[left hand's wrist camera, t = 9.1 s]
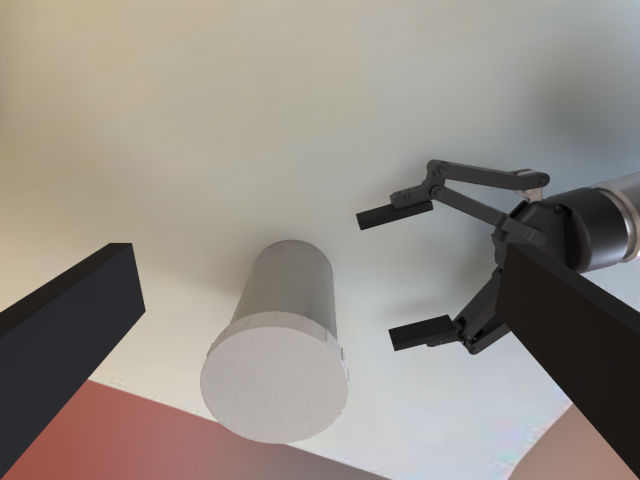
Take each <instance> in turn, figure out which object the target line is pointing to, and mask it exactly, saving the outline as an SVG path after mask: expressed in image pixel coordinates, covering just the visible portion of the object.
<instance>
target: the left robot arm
mask: <svg viewBox="0 0 640 480" xmlns="http://www.w3.org/2000/svg"><path fill="white" fill-rule="evenodd" d="M145 312H146V310H145V305H144V300H143V296H142V291H141V286H140V281H139V276H138V271H137V266H136V261H135V256H134V251H133V246H132V243H109V244H108V245H106V246H104V247H103V248H101V249H100V250H98V251H96V252H95V253H93V254H92V255H90V256H89V257H87V258H85V259H84V260H82V261H81V262H79V263H78V264H76V265H74V266H73V267H71V268H70V269H68V270H67V271H65V272H63V273H62V274H60V275H59V276H57V277H56V278H54V279H52V280H51V281H49V282H48V283H46V284H45V285H43V286H41V287H40V288H38V289H37V290H35V291H34V292H32V293H30V294H29V295H27V296H26V297H24V298H23V299H21V300H19V301H18V302H16V303H15V304H13V305H12V306H10V307H8V308H7V309H5V310H4V311H2V312H0V479H1V478H2V477H3V476H4V475H5V474H6V473H7V471H8V470H9V469H10V468H11V467H12V466H13V464H14V463H15V462H16V461H17V460H18V459H19V458H20V456H21V455H22V454H23V453H24V452H25V451H26V449H27V448H28V447H29V446H30V445H31V444H32V442H33V441H34V440H35V439H36V438H37V437H38V435H39V434H40V433H41V432H42V431H43V430H44V429H45V427H46V426H47V425H48V424H49V423H50V422H51V420H52V419H53V418H54V417H55V416H56V415H57V414H58V412H59V411H60V410H61V409H62V408H63V407H64V405H65V404H66V403H67V402H68V401H69V400H70V398H71V397H72V396H73V395H74V394H75V393H76V391H77V390H78V389H79V388H80V387H81V386H82V385H83V383H84V382H85V381H86V380H87V379H88V378H89V376H90V375H91V374H92V373H93V372H94V371H95V370H96V368H97V367H98V366H99V365H100V364H101V363H102V361H103V360H104V359H105V358H106V357H107V356H108V354H109V353H110V352H111V351H112V350H113V349H114V348H115V346H116V345H117V344H118V343H119V342H120V341H121V339H122V338H123V337H124V336H125V335H126V334H127V332H128V331H129V330H130V329H131V328H132V327H133V325H134V324H135V323H136V322H137V321H138V320H139V319H140V317H141V316H142V315H143V314H144V313H145ZM494 312H495V313H496V314H497V315H498V316H499V317H500V319H501V320H502V321H503V322H504V323H505V324H506V325H507V327H508V328H509V329H510V330H511V331H512V332H513V334H514V335H515V336H516V337H517V338H518V339H519V341H520V342H521V343H522V344H523V345H524V346H525V348H526V349H527V350H528V351H529V352H530V353H531V354H532V356H533V357H534V358H535V359H536V360H537V361H538V363H539V364H540V365H541V366H542V367H543V368H544V370H545V371H546V372H547V373H548V374H549V375H550V376H551V378H552V379H553V380H554V381H555V382H556V383H557V385H558V386H559V387H560V388H561V389H562V390H563V392H564V393H565V394H566V395H567V396H568V397H569V398H570V400H571V401H572V402H573V403H574V404H575V405H576V407H577V408H578V409H579V410H580V411H581V412H582V414H583V415H584V416H585V417H586V418H587V419H588V420H589V422H590V423H591V424H592V425H593V426H594V427H595V429H596V430H597V431H598V432H599V433H600V434H601V436H602V437H603V438H604V439H605V440H606V441H607V442H608V444H609V445H610V446H611V447H612V448H613V449H614V451H615V452H616V453H617V454H618V455H619V456H620V458H621V459H622V460H623V461H624V462H625V463H626V464H627V466H628V467H629V468H630V469H631V470H632V471H633V473H634V474H635V475H636V476H637V477H638V478H639V480H640V313H639V312H638V311H636V310H635V309H633V308H632V307H630V306H628V305H627V304H625V303H624V302H622V301H621V300H619V299H617V298H616V297H614V296H613V295H611V294H610V293H608V292H606V291H605V290H603V289H602V288H600V287H599V286H597V285H595V284H594V283H592V282H591V281H589V280H588V279H586V278H584V277H583V276H581V275H580V274H578V273H577V272H575V271H573V270H572V269H570V268H569V267H567V266H566V265H564V264H562V263H561V262H559V261H558V260H556V259H555V258H553V257H551V256H550V255H548V254H547V253H545V252H543V251H542V250H540V249H539V248H537V247H536V246H534V245H532V244H531V243H508V246H507V251H506V256H505V261H504V266H503V271H502V276H501V281H500V286H499V291H498V296H497V300H496V305H495V310H494Z"/></svg>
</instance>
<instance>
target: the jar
mask: <svg viewBox="0 0 640 480" xmlns="http://www.w3.org/2000/svg"><path fill="white" fill-rule="evenodd" d="M275 311H278V312H288V313H293V314H297V315H300V316H303V317H304V316H305V317H306V318H308V319H310V320H313V321H315V322H316V323H318V324H319V325H321V326H322V327H324V328H325V329H327V330H328V331H329V332H330V334H331V335H332V336H333V337H334V338H335V339H336V340H337V328H336V314H335V301H334V288H333V274H332V269H331V265H330V263H329V261H328V259H327V258H326V256H325V255H324V254H323V253H322V252H321V251H320V250H319V249H318V248H316V247H315V246H313V245H311V244H309V243H306V242H302V241H297V240H287V241H281V242H278V243H275V244H273V245H271V246H269V247H268V248H267V249H265V250H264V251H263V252H262V253H261V254H260V256H259V257H258V259H257V261H256V263H255V265H254V268H253V270H252V272H251V275H250V277H249V279H248V282H247V284H246V286H245V289H244V291H243V294H242V296H241V298H240V301H239V303H238V305H237V308H236V310H235V312H234V315H233V317H232V320H231V322H230V324H229V326H230V325H231V324H232V323H234V322H236V321H237V320H239V319H241V318H244V317H246V316H249V315H250V314H251V315H252V314H256V313H262V312H275ZM337 342H338V341H337Z"/></svg>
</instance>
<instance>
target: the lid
mask: <svg viewBox="0 0 640 480" xmlns="http://www.w3.org/2000/svg"><path fill="white" fill-rule="evenodd" d="M348 382H349V374H348V368H347V365H346V359H345V356H344V353H343V348H341V347H340V345H339V343H338V342H337V340H336V339H335V338H334V337H333V336H332V335H331V334H330V332H329V331H328V330H327V329H325V328H324V327H322V326H321V325H319V324H318V323H316V322H315V321H313V320H310V319H308V318H306V317H305V316H304V317H303V316H300V315H297V314H293V313H288V312H278V311H275V312H262V313H256V314H252V315H251V314H250V315H249V316H246V317H244V318H241V319H239V320H237V321H236V322H234V323H232V324H231V325H230V326H227V327H226V329H225V330H224V331H223V332H222V333H221V334H220V335H219V336H218V337H217V339H216V340H215V342H214V343H212V345H211V347H210V349H209V351H208V353H207V358H206V361H205V363H204V365H203V368H202V371H201V378H200V387H201V393H202V396H203V399H204V402H205V404H206V406H207V408H208V409H209V411H210V412H211V414H212V415H213V416H214V417H215V418H216V419H217V420H218V421H219V422H220V423H221V424H222V425H223V426H225V427H226V428H228V429H229V430H231V431H232V432H234V433H236V434H238V435H240V436H242V437H245V438H248V439H251V440H255V441H259V442H265V443H291V442H297V441H301V440H304V439H307V438H310V437H312V436H315V435H317V434H319V433H320V432H322V431H324V430H325V429H326V428H328V427H329V426H330V425H331V424H332V423H333V422H334V421H335V420H336V419H337V418H338V417H339V415H340V414H341V412H342V410H343V408H344V407H345V404H346V401H347V397H348Z"/></svg>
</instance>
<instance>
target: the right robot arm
mask: <svg viewBox="0 0 640 480" xmlns="http://www.w3.org/2000/svg"><path fill="white" fill-rule="evenodd" d="M427 170H428V171H427V177H426V180H424V181H423V182H422V184H421V185H418V186H415V187H411V188H408V189H405V190H401V191H398V192H394V193H393V194H392V195H390V200H391V204H389V205H385V206H382V207H379V208H375V209H372V210H368V211H365V212H361V213H358V214H356V216H357V220H358V223H359V226H360V229H361V230H364V229H368V228H371V227H375V226H378V225H382V224H385V223H389V222H392V221H396V220H399V219H403V218H406V217H410V216H413V215H417V214H420V213H424V212H427V211H431V210H433V205H432V201H430V200H433V199H435V200H437V201H440V202H442V203H444V204H446V205H449V206H451V207H453V208H455V209H458V210H460V211H462V212H465V213H467V214H469V215H471V216H474V217H476V218H478V219H480V220H483V221H485V222H487V223H489V224H492V225H494V226H496V229H495V231H494V233H493V234H492V241H493V243H494V245H495V248H496V249H495V255H494V256H495V262H496V263H497V264H498V265H499V266H498V267H497V268H496V269H495V270H494V271H493V273H492V278H491V279H490V280H489V281H488V283H487V284H486V285H485V286H484V287H483V288H482V289H481V290H480V291H479V292H478V294H477V295H476V296H475V297H474V298H473V299H472V300H471V301H470V302H469V303H468V305H467V306H466V307H465V308H464V309H463V310H462V311H461V312H460V313H459V314H458V316H457V317H456V318H455V319H454V320H453V321H452V320H451V319H450V317H449V315H444V316H440V317H436V318H432V319H428V320H424V321H420V322H416V323H413V324H409V325H405V326H401V327H397V328H393V329H389V334H390V337H391V341H392V344H393V347H394V350H395V351H398V350H402V349H406V348H410V347H414V346H418V345H422V344H427V347H434V346H438V345H442V344H446V343H451V342H455V341H459V342H461V343H462V344H463V346H465V347H466V349H467V350H468V351H469V353H470V354H472V355H475V354H478V353H479V352H481V351H482V350H484V349H485V348H487V347H488V346H489V345H491V344H492V343H494V342H495V341H497V340H498V339H500V338H501V337H503V336H504V335H506V334H507V333H509V332H510V331H511V330H510V329H509V328H508V327H507V325H506V324H505V323H504V322H503V321H502V320H501V319H500V317H499V316H498V315H497V314H496V313H495V312H494V310H495V305H496V300H497V296H498V291H499V286H500V281H501V276H502V271H503V266H504V261H505V256H506V251H507V246H508V243H531V244H532V245H534V246H536V247H537V248H539V249H540V250H542V251H543V252H545V253H547V254H548V255H550V256H551V257H553V258H555V259H556V260H558V261H559V262H561V263H562V264H564V265H566V266H567V267H569V268H570V269H572V270H573V271H575V272H577V273H578V274H581V273H585V272H589V271H593V270H596V269H600V268H604V267H608V266H612V265H615V264H617V263H622V262H630V261H634V260H637V259H640V172H638V173H634V174H630V175H626V176H623V177H619V178H616V179H612V180H609V181H605V182H601V183H598V184H594V185H592V186H590V187H589V188H579V189H576V190H572V191H569V192H565V193H561V194H558V195H554V196H551V197H548V198H546V199H542V187H545V186H546V185H547V184H548V183H549V181H550V177H549V175H548V174H546V173H542V172H538V171H535V170H532V169H523V170H518V171H512V172H504V171H498V170H492V169H487V168H481V167H475V166H469V165H463V164H458V163H452V162H446V161H440V160H430V161H429V162H428V164H427ZM445 179H450V180H456V181H462V182H468V183H474V184H480V185H486V186H492V187H497V188H503V189H509V190H513V191H514V193H516V194H518V195H520V196H524V197H525V200H523V201H522V202H521V203H520V204H519V205H518V206H517V207H516V208H515V209H514V210H513V211H512V212H511V213H510V214H509V215H508V214H506V213H503V212H501V211H499V210H497V209H495V208H492V207H489V206H487V205H485V204H483V203H481V202H478V201H476V200H474V199H472V198H469V197H467V196H465V195H463V194H460V193H458V192H456V191H454V190H452V189H449V188H447V187H445V186H444V184H445Z"/></svg>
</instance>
